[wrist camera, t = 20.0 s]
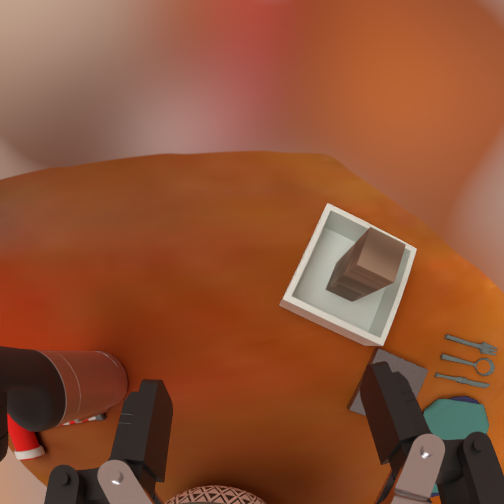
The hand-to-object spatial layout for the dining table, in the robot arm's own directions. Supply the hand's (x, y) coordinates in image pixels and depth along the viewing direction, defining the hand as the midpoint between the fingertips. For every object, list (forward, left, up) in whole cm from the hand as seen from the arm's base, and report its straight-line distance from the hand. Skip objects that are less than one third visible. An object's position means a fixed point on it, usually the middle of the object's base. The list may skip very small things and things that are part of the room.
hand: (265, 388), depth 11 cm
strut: (+15, -7, -32) cm, 36 cm away
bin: (+15, -7, -33) cm, 36 cm away
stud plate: (+3, -21, -33) cm, 39 cm away
